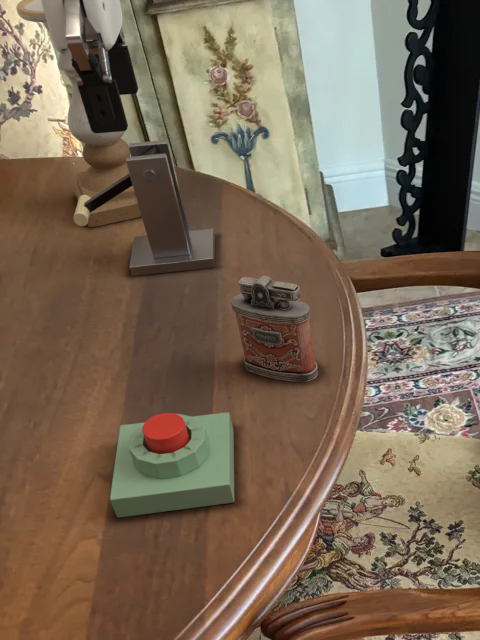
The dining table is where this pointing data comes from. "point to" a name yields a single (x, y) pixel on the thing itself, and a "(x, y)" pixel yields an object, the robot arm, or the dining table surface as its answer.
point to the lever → (103, 196)
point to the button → (165, 433)
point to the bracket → (164, 217)
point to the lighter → (275, 330)
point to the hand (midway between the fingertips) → (116, 111)
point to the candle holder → (92, 144)
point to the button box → (175, 469)
